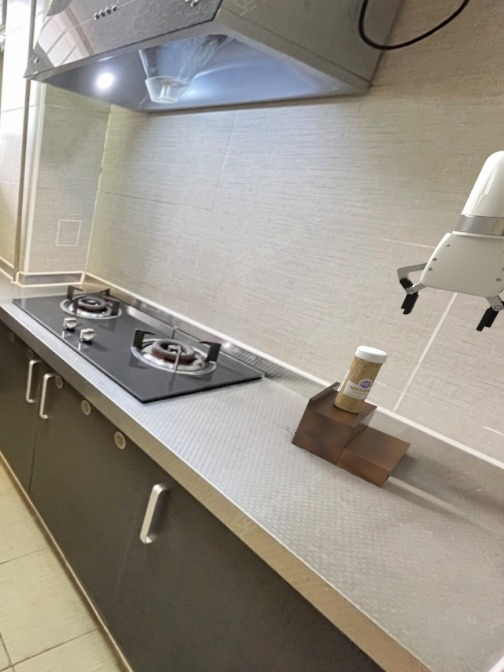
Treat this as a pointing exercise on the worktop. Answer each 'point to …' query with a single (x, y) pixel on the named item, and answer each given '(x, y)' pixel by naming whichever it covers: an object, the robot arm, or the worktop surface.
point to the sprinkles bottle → (359, 378)
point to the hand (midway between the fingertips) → (441, 321)
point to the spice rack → (348, 438)
